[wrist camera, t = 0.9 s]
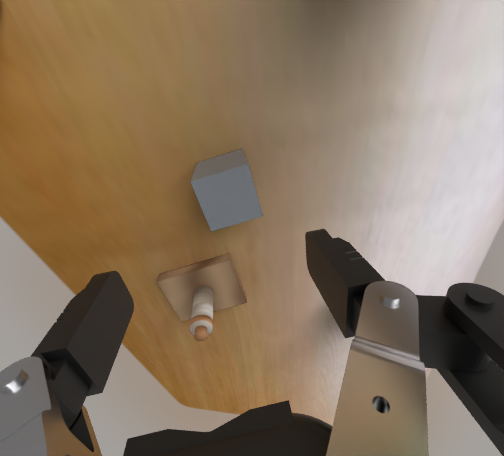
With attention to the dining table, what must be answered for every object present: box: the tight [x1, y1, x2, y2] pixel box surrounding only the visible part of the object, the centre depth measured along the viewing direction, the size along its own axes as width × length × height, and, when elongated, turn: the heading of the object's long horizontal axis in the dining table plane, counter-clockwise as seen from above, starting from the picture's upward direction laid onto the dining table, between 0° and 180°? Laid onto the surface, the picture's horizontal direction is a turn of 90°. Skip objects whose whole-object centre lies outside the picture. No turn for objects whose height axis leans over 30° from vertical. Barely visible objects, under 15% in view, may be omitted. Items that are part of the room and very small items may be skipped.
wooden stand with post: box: [157, 254, 247, 341], centre depth 31 cm, size 10×8×9 cm
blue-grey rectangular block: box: [190, 149, 263, 232], centre depth 25 cm, size 5×5×7 cm
